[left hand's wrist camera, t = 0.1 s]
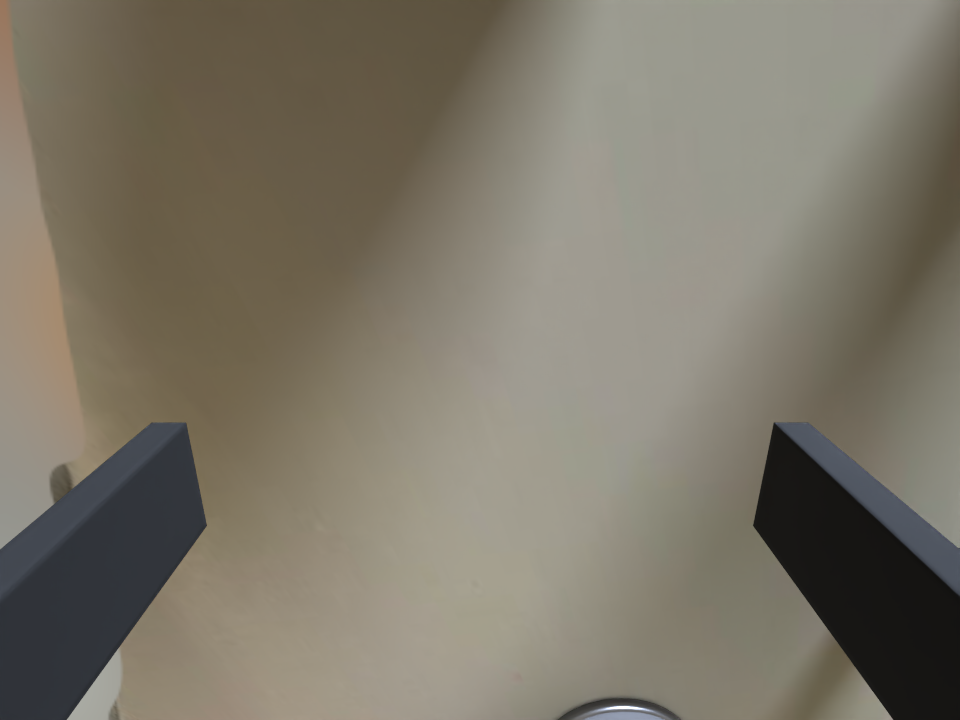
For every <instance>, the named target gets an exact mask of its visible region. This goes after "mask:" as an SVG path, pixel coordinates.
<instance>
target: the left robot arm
mask: <svg viewBox="0 0 960 720" xmlns="http://www.w3.org/2000/svg"><path fill="white" fill-rule="evenodd" d="M206 526H207V524H206V519H205V514H204V509H203V504H202V499H201V494H200V489H199V484H198V479H197V474H196V470H195V465H194V460H193V455H192V450H191V445H190V440H189V435H188V430H187V425H186V423H151V424H150V425H148V426H147V427H146V428H145V429H144V430H142V431H141V432H140V433H139V434H138V435H136V436H135V437H134V438H133V439H132V440H130V441H129V442H128V443H127V444H126V445H124V446H123V447H122V448H121V449H120V450H118V451H117V452H116V453H115V454H114V455H113V456H111V457H110V458H109V459H108V460H107V461H105V462H104V463H103V464H102V465H101V466H99V467H98V468H97V469H96V470H95V471H93V472H92V473H91V474H90V475H89V476H87V477H86V478H85V479H84V480H83V481H81V482H80V483H79V484H78V485H77V486H76V487H74V488H73V489H72V490H71V491H70V492H68V493H67V494H66V495H65V496H64V497H62V498H61V499H60V500H59V501H58V502H56V503H55V504H54V505H53V506H52V507H51V508H49V509H48V510H47V511H46V512H44V513H43V514H42V515H41V516H40V517H39V518H37V519H36V520H35V521H34V522H33V523H31V524H30V525H29V526H28V527H27V528H25V529H24V530H23V531H22V532H21V533H19V534H18V535H17V536H16V537H15V538H13V539H12V540H11V541H10V542H9V543H7V544H6V545H5V546H4V547H3V548H2V549H0V720H67V718H68V717H69V716H70V714H71V713H72V712H73V710H74V709H75V707H76V706H77V705H78V703H79V702H80V700H81V699H82V698H83V696H84V695H85V694H86V692H87V691H88V689H89V688H90V687H91V685H92V684H93V682H94V681H95V680H96V678H97V677H98V676H99V674H100V673H101V671H102V670H103V669H104V667H105V666H106V665H107V663H108V662H109V660H110V659H111V658H112V656H113V655H114V653H115V652H116V651H117V649H118V648H119V647H120V645H121V644H122V642H123V641H124V640H125V638H126V637H127V635H128V634H129V633H130V631H131V630H132V629H133V627H134V626H135V624H136V623H137V622H138V620H139V619H140V617H141V616H142V615H143V613H144V612H145V611H146V609H147V608H148V606H149V605H150V604H151V602H152V601H153V600H154V598H155V597H156V595H157V594H158V593H159V591H160V590H161V588H162V587H163V586H164V584H165V583H166V582H167V580H168V579H169V577H170V576H171V575H172V573H173V572H174V570H175V569H176V568H177V566H178V565H179V564H180V562H181V561H182V559H183V558H184V557H185V555H186V554H187V552H188V551H189V550H190V548H191V547H192V546H193V544H194V543H195V541H196V540H197V539H198V537H199V536H200V534H201V533H202V532H203V530H204V529H205V528H206ZM753 526H754V528H755V529H756V530H757V532H758V533H759V534H760V536H761V537H762V539H763V540H764V541H765V543H766V544H767V546H768V547H769V548H770V550H771V551H772V552H773V554H774V555H775V557H776V558H777V559H778V561H779V562H780V564H781V565H782V566H783V568H784V569H785V570H786V572H787V573H788V575H789V576H790V577H791V579H792V580H793V582H794V583H795V584H796V586H797V587H798V588H799V590H800V591H801V593H802V594H803V595H804V597H805V598H806V600H807V601H808V602H809V604H810V605H811V606H812V608H813V609H814V611H815V612H816V613H817V615H818V616H819V617H820V619H821V620H822V622H823V623H824V624H825V626H826V627H827V629H828V630H829V631H830V633H831V634H832V635H833V637H834V638H835V640H836V641H837V642H838V644H839V645H840V647H841V648H842V649H843V651H844V652H845V653H846V655H847V656H848V658H849V659H850V660H851V662H852V663H853V665H854V666H855V667H856V669H857V670H858V671H859V673H860V674H861V676H862V677H863V678H864V680H865V681H866V683H867V684H868V685H869V687H870V688H871V689H872V691H873V692H874V694H875V695H876V696H877V698H878V699H879V701H880V702H881V703H882V705H883V706H884V707H885V709H886V710H887V712H888V713H889V714H890V716H891V717H892V718H893V720H960V548H957V547H956V546H955V545H954V544H953V543H951V542H950V541H949V540H948V539H947V538H945V537H944V536H943V535H942V534H941V533H939V532H938V531H937V530H936V529H935V528H933V527H932V526H931V525H930V524H929V523H927V522H926V521H925V520H924V519H923V518H922V517H920V516H919V515H918V514H917V513H916V512H914V511H913V510H912V509H911V508H910V507H908V506H907V505H906V504H905V503H904V502H902V501H901V500H900V499H899V498H898V497H896V496H895V495H894V494H893V493H892V492H890V491H889V490H888V489H887V488H886V487H884V486H883V485H882V484H881V483H880V482H879V481H877V480H876V479H875V478H874V477H873V476H871V475H870V474H869V473H868V472H867V471H865V470H864V469H863V468H862V467H861V466H859V465H858V464H857V463H856V462H855V461H853V460H852V459H851V458H850V457H849V456H847V455H846V454H845V453H844V452H843V451H841V450H840V449H839V448H838V447H837V446H836V445H834V444H833V443H832V442H831V441H830V440H828V439H827V438H826V437H825V436H824V435H822V434H821V433H820V432H819V431H818V430H816V429H815V428H814V427H813V426H812V425H810V424H809V423H774V425H773V430H772V435H771V440H770V445H769V450H768V455H767V460H766V465H765V470H764V474H763V479H762V484H761V489H760V494H759V499H758V504H757V509H756V514H755V519H754V524H753ZM558 720H680V719H679V718H678V717H677V716H676V715H674V714H673V713H672V712H670V711H668V710H667V709H665V708H663V707H661V706H659V705H656V704H653V703H650V702H646V701H641V700H634V699H609V700H602V701H597V702H593V703H589V704H586V705H583V706H581V707H578V708H576V709H574V710H572V711H570V712H568V713H567V714H565V715H564V716H562V717H561V718H560V719H558Z"/></svg>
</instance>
